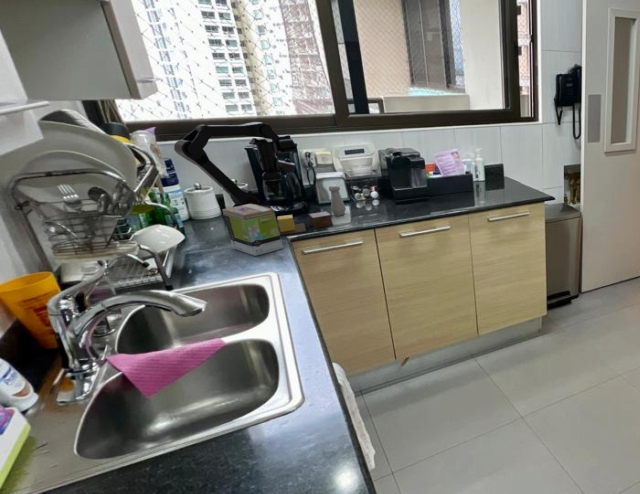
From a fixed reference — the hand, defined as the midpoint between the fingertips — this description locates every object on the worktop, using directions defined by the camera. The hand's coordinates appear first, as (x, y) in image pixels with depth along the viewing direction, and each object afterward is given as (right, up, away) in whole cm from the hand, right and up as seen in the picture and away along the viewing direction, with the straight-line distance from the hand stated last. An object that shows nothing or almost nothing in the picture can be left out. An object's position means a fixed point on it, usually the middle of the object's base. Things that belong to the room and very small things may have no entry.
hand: (277, 193), depth 190 cm
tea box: (+10, -24, -24) cm, 35 cm away
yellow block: (+8, -15, -6) cm, 18 cm away
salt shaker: (+18, -7, +15) cm, 24 cm away
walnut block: (+18, -13, +1) cm, 22 cm away
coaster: (+8, -15, -6) cm, 18 cm away
